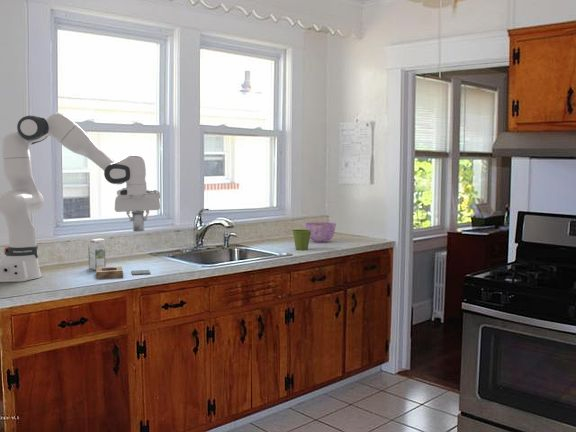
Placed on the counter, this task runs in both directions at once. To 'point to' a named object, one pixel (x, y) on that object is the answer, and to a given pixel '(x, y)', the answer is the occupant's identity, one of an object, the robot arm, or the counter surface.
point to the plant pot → (301, 238)
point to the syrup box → (96, 253)
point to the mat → (140, 272)
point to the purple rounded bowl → (321, 231)
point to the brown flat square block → (109, 272)
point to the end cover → (138, 220)
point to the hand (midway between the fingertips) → (138, 220)
